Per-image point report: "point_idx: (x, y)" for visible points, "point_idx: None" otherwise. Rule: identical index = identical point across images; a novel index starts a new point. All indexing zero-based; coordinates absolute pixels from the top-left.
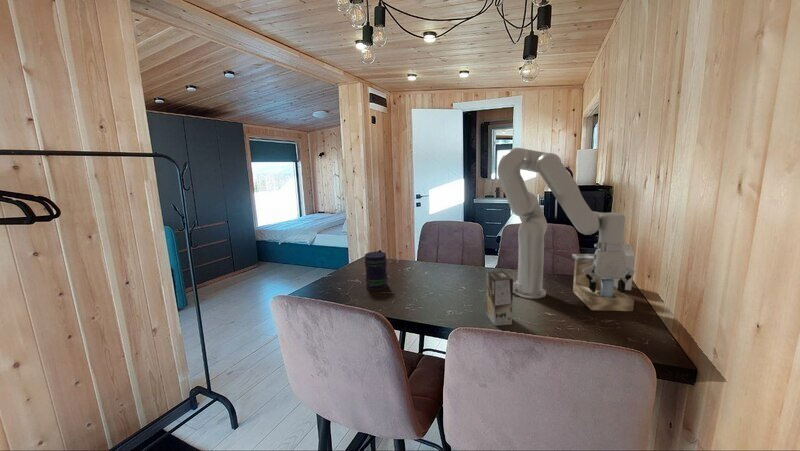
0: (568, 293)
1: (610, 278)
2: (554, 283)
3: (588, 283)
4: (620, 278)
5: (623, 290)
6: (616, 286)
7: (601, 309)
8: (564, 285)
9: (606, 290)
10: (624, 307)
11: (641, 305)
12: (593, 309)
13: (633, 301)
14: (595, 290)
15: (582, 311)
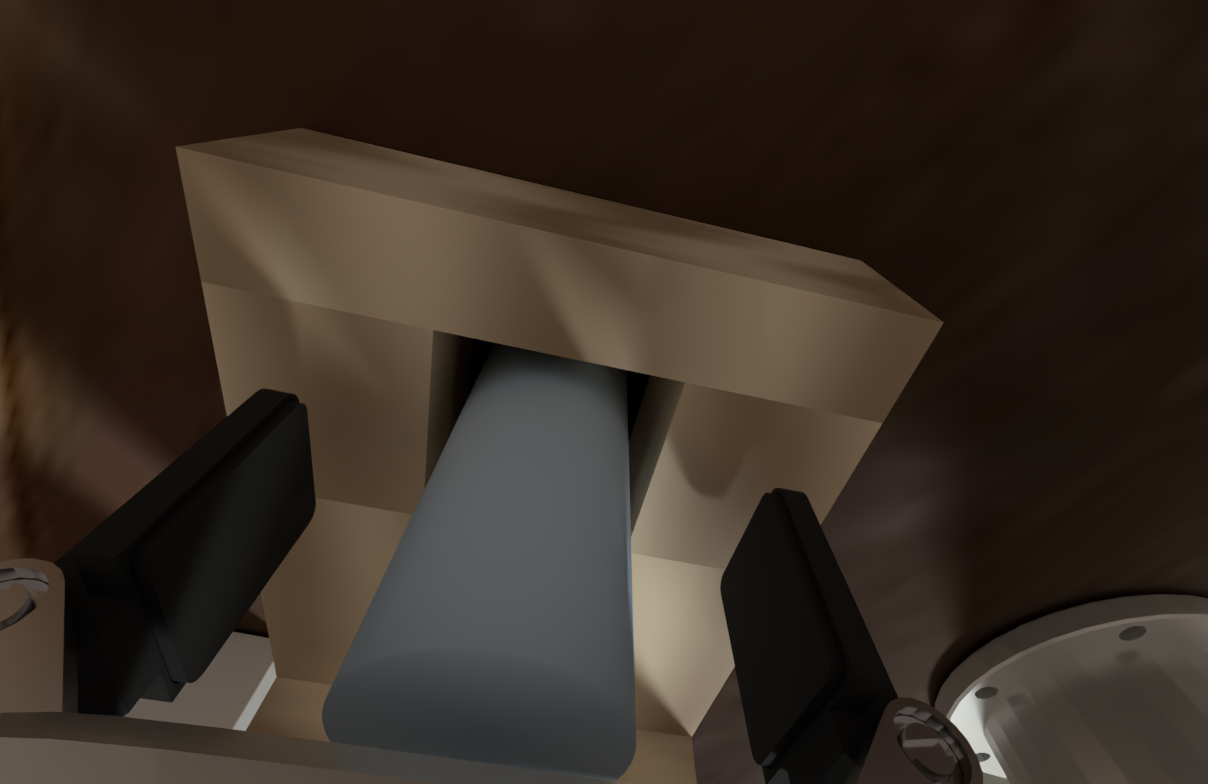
0: None
1: (491, 764)
2: (699, 772)
3: None
4: (70, 715)
5: (239, 417)
6: (226, 667)
7: (731, 233)
8: None
9: (591, 469)
10: (407, 166)
11: (113, 292)
12: (833, 256)
13: (199, 149)
14: (778, 511)
15: (1013, 236)
